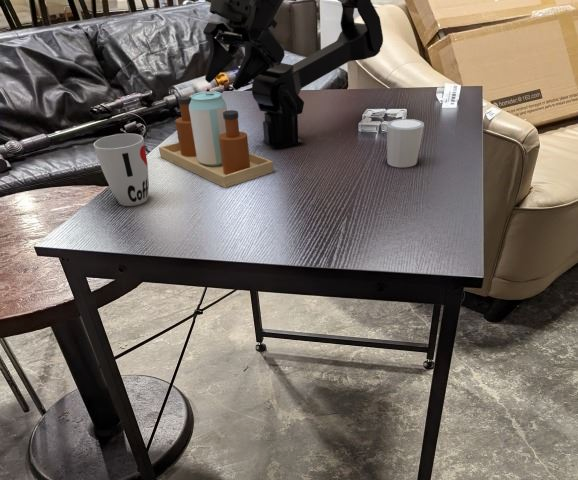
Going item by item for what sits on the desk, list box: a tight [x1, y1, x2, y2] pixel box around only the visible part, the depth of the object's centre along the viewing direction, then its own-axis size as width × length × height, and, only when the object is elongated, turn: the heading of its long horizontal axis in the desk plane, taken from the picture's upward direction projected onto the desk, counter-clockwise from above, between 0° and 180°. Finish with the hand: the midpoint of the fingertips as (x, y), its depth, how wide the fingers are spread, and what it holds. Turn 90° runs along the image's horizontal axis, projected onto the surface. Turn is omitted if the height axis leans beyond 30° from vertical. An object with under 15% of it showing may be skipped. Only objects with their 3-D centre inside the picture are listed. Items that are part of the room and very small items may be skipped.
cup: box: [93, 133, 150, 207], centre depth 90 cm, size 8×8×10 cm
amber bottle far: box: [174, 95, 196, 157], centre depth 107 cm, size 5×5×10 cm
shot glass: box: [386, 118, 425, 168], centre depth 99 cm, size 7×7×7 cm
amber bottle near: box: [219, 109, 250, 175], centre depth 97 cm, size 5×5×10 cm
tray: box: [158, 141, 274, 189], centre depth 105 cm, size 24×11×2 cm, turn 39°
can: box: [189, 90, 228, 166], centre depth 101 cm, size 7×7×12 cm
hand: (220, 84), depth 98 cm, fingers open, 9 cm apart
